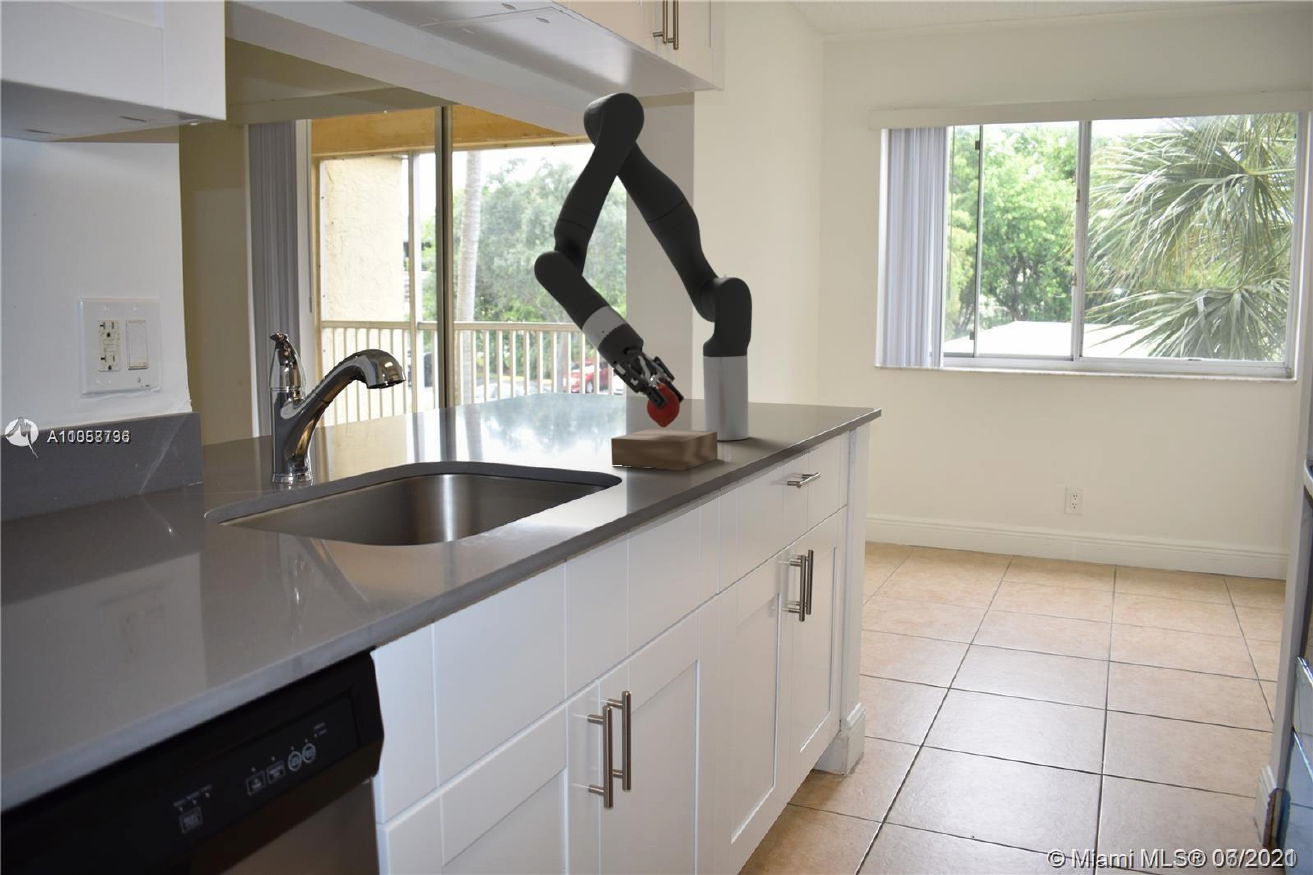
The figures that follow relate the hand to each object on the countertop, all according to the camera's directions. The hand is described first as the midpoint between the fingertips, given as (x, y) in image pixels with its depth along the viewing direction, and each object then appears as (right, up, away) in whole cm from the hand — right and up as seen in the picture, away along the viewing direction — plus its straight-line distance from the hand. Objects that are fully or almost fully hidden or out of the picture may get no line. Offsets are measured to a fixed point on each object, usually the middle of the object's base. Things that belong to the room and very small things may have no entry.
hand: (672, 403), depth 177 cm
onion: (-1, -4, +1) cm, 5 cm away
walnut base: (-1, -10, +2) cm, 11 cm away
